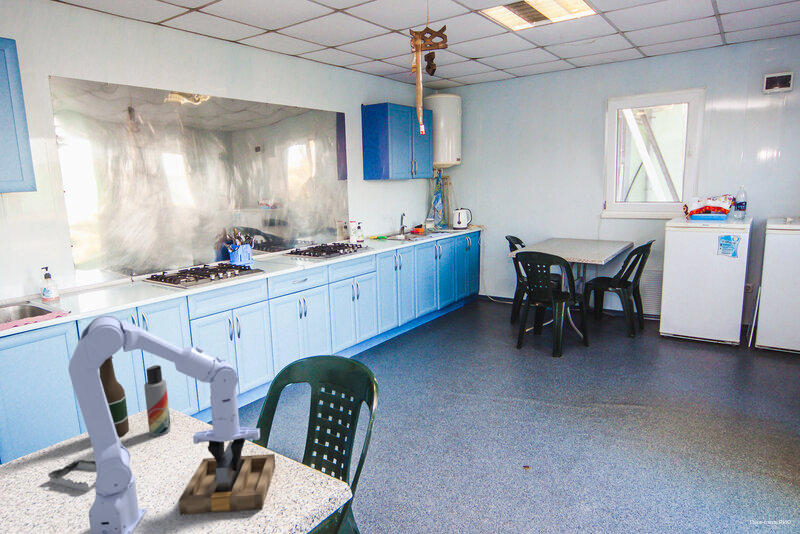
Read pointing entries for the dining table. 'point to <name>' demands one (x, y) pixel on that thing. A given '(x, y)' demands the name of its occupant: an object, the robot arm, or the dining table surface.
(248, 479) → the rack
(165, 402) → the lotion bottle
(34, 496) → the dining table surface
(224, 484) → the panel
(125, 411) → the beer bottle
